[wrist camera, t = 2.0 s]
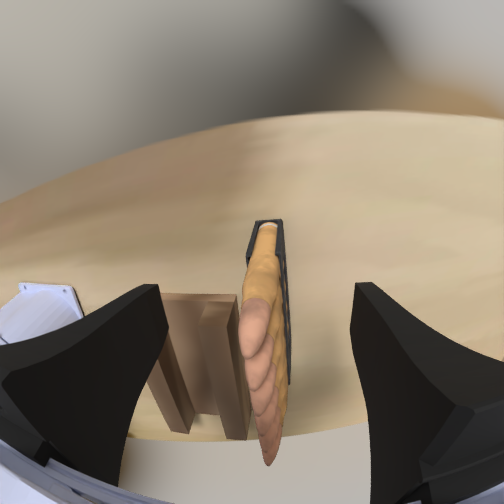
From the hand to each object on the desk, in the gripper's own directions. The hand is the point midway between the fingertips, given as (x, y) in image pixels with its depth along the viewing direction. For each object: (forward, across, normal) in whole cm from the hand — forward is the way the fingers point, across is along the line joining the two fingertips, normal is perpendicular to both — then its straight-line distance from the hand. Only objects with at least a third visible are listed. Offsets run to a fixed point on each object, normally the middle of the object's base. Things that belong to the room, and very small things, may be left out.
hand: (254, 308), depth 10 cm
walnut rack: (+10, +7, +13) cm, 18 cm away
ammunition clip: (+11, 0, +5) cm, 12 cm away
